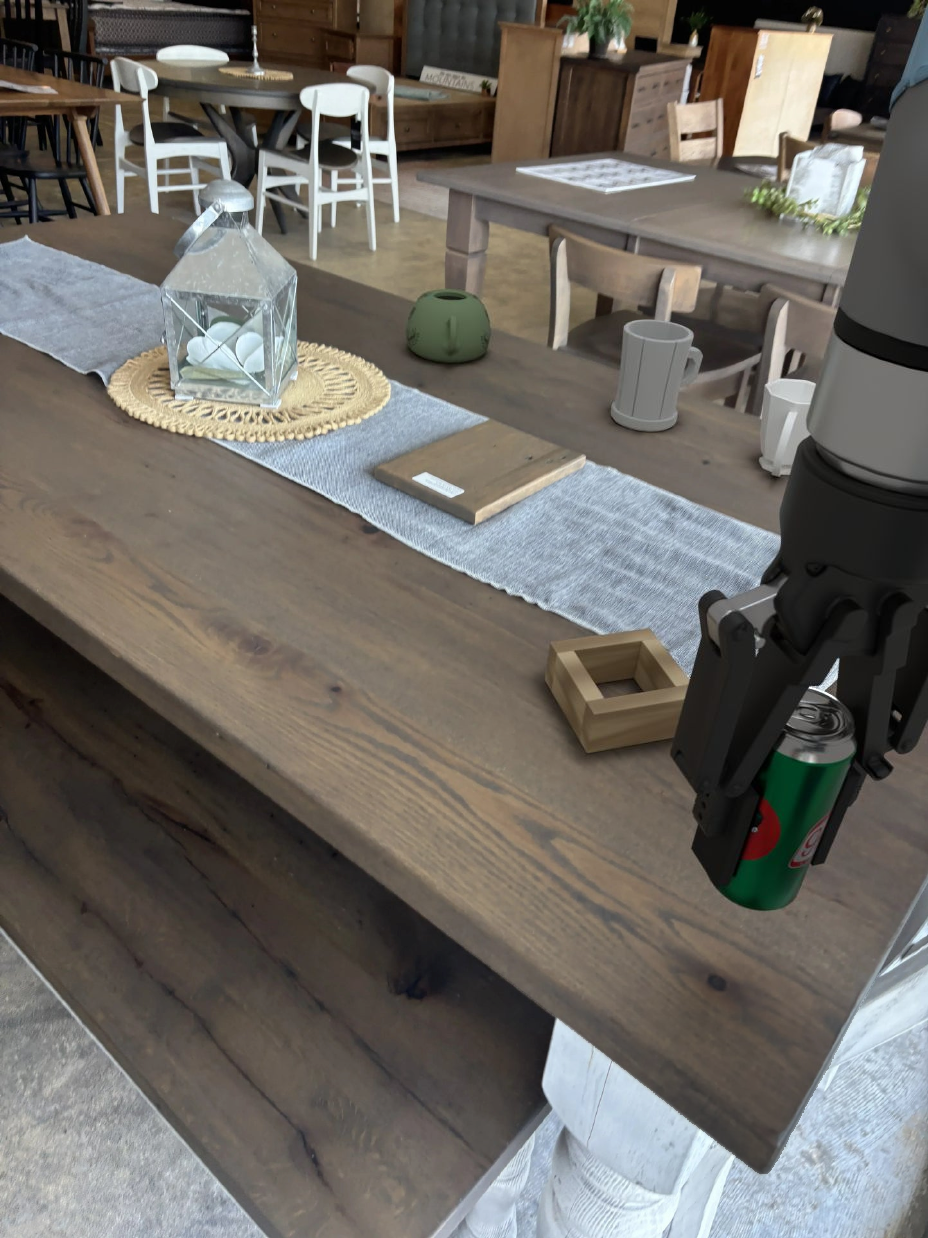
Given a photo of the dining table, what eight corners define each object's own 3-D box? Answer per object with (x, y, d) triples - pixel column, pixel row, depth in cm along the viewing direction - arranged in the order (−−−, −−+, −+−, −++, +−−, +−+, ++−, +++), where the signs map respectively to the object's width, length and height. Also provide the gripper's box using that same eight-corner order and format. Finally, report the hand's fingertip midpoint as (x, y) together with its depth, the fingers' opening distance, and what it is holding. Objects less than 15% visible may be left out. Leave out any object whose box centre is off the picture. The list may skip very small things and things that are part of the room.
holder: (692, 734, 71) (702, 695, 69) (586, 753, 69) (594, 714, 66) (641, 664, 78) (649, 627, 76) (544, 680, 76) (549, 641, 73)
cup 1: (632, 397, 128) (647, 311, 121) (692, 414, 124) (711, 327, 117) (598, 420, 121) (611, 330, 114) (661, 439, 117) (679, 347, 110)
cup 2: (819, 460, 114) (842, 386, 108) (806, 500, 105) (830, 421, 99) (752, 445, 117) (770, 372, 111) (733, 482, 108) (753, 405, 102)
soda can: (792, 931, 47) (863, 762, 40) (694, 898, 48) (747, 729, 41) (800, 861, 51) (866, 695, 44) (710, 832, 52) (760, 667, 45)
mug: (404, 336, 143) (405, 280, 138) (485, 339, 145) (489, 283, 140) (407, 373, 131) (408, 313, 126) (496, 376, 132) (500, 316, 127)
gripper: (1011, 403, 40) (855, 778, 54) (646, 431, 36) (574, 835, 49) (1160, 477, 35) (944, 876, 48) (748, 522, 30) (634, 953, 43)
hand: (757, 855), depth 48 cm, fingers closed on soda can, 5 cm apart
